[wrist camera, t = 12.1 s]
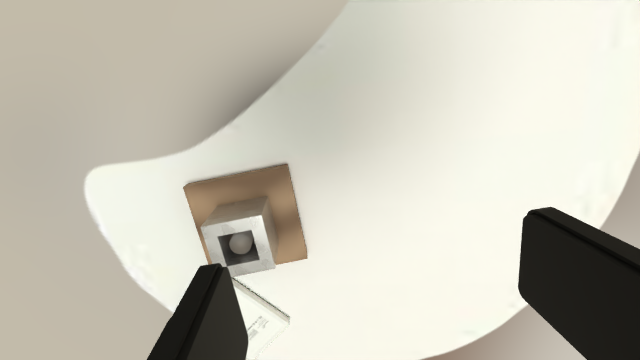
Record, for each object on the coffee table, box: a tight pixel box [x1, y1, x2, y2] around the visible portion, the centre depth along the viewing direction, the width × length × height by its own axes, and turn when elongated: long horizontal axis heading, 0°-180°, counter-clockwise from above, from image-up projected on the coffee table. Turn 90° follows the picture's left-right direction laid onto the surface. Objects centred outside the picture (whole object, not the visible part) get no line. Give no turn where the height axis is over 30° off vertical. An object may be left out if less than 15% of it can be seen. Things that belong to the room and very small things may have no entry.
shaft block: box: [183, 164, 307, 265], centre depth 34 cm, size 12×12×6 cm
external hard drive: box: [231, 278, 290, 360], centre depth 39 cm, size 2×8×12 cm
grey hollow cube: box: [201, 196, 279, 277], centre depth 32 cm, size 6×6×6 cm
